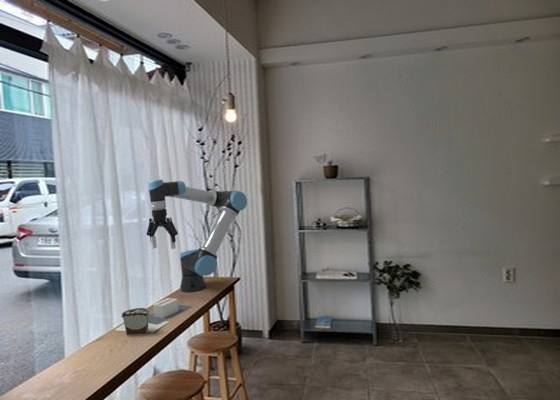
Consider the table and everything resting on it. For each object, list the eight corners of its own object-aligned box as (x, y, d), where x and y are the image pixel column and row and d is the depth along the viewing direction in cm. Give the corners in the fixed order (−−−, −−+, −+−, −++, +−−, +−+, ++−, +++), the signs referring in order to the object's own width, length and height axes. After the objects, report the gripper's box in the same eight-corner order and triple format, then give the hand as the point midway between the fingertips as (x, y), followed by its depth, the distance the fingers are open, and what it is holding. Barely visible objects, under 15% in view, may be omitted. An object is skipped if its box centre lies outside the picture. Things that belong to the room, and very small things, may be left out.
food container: (156, 328, 176) (153, 306, 175) (150, 334, 170) (148, 311, 169) (130, 329, 177) (127, 308, 177) (123, 335, 171) (121, 313, 170)
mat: (174, 304, 207) (174, 304, 207) (193, 307, 200) (193, 306, 200) (138, 321, 186) (137, 320, 186) (157, 325, 180) (157, 324, 179)
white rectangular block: (163, 318, 187) (162, 305, 187) (154, 316, 190) (152, 304, 190) (178, 310, 196) (177, 298, 195) (169, 309, 199) (168, 297, 199)
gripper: (136, 210, 209) (141, 249, 211) (171, 209, 197) (176, 250, 199) (147, 208, 216) (152, 246, 218) (181, 207, 204) (186, 247, 206)
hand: (163, 248), depth 208 cm, fingers open, 13 cm apart
